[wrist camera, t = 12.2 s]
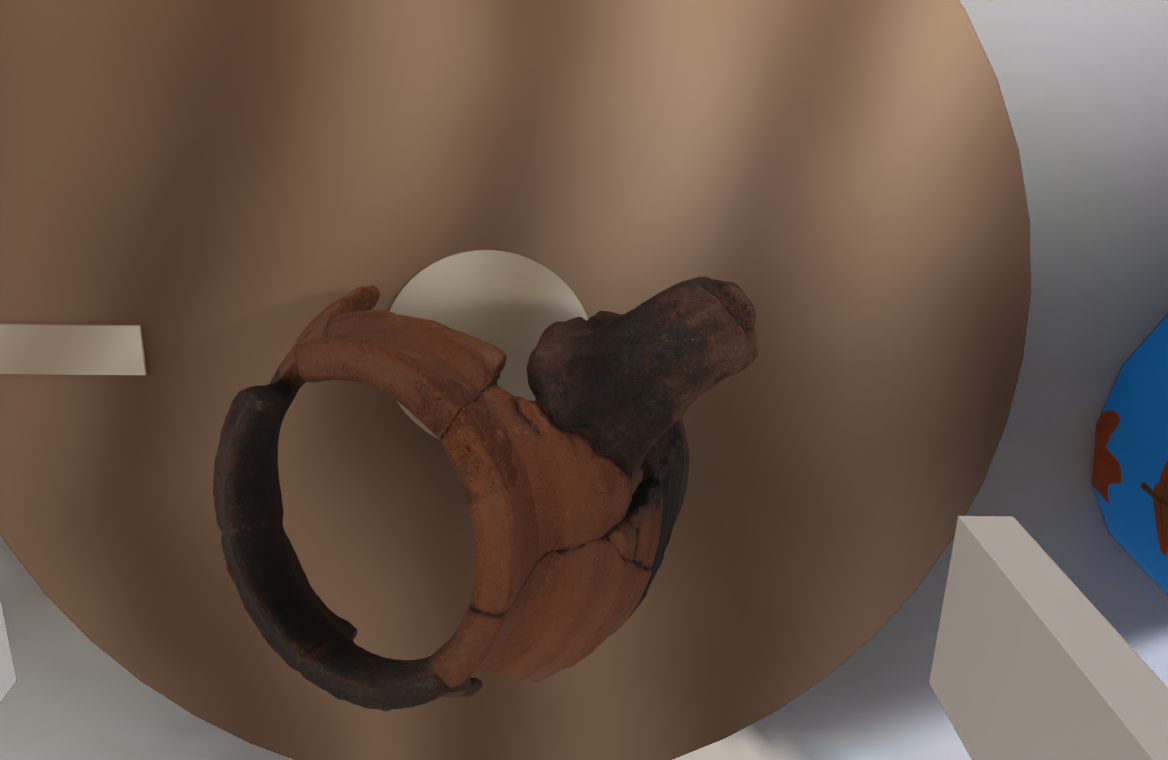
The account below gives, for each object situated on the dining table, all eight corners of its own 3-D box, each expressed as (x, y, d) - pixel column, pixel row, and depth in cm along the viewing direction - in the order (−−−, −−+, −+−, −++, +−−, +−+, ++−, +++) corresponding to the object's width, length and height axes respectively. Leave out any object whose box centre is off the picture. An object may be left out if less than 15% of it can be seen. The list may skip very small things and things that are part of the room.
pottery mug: (551, 664, 28) (355, 838, 20) (354, 391, 29) (105, 461, 22) (908, 408, 22) (814, 519, 15) (643, 85, 23) (439, 44, 16)
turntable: (1109, -245, 21) (1139, -258, 20) (931, 761, 30) (945, 787, 29) (-181, -301, 20) (-220, -317, 19) (32, 772, 29) (13, 800, 28)
